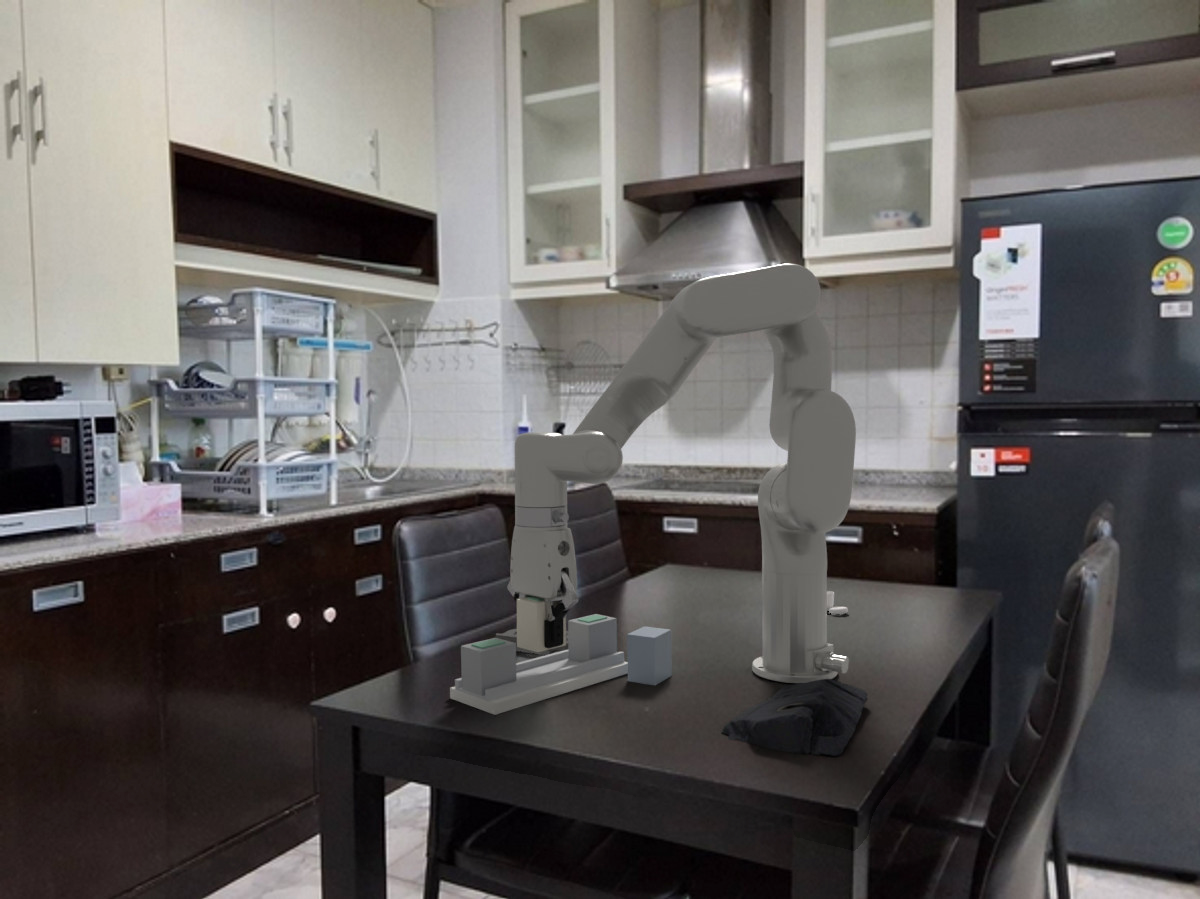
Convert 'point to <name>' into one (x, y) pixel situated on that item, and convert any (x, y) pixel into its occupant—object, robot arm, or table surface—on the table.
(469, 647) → the mounted module
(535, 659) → the rail base
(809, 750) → the black folded cloth
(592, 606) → the table surface
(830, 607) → the white rounded block
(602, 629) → the mounted module
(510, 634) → the graphics card
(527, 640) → the block
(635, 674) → the block
